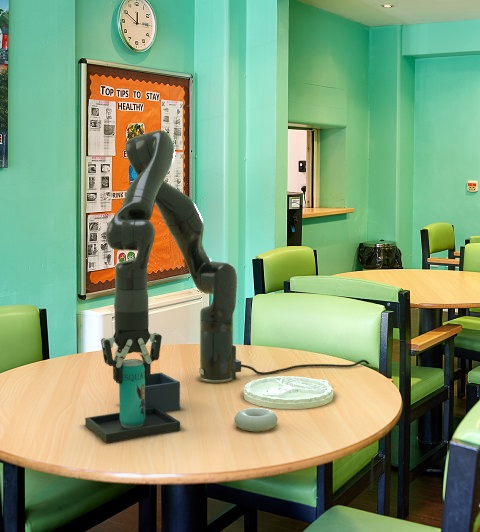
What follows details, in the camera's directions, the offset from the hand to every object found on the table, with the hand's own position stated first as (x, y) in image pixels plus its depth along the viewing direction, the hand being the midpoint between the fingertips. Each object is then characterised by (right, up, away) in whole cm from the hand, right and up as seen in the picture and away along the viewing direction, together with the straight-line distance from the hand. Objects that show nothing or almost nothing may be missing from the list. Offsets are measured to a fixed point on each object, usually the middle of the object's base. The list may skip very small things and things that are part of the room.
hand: (132, 380), depth 185 cm
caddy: (+2, -9, +17) cm, 20 cm away
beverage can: (0, -11, +1) cm, 11 cm away
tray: (0, -11, +1) cm, 11 cm away
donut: (+28, -11, +3) cm, 30 cm away
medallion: (+37, -8, +30) cm, 48 cm away
